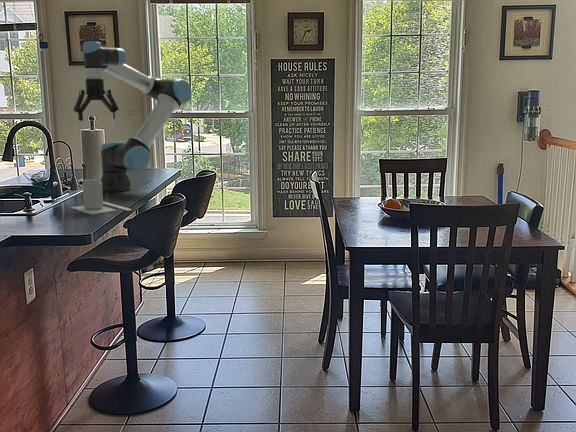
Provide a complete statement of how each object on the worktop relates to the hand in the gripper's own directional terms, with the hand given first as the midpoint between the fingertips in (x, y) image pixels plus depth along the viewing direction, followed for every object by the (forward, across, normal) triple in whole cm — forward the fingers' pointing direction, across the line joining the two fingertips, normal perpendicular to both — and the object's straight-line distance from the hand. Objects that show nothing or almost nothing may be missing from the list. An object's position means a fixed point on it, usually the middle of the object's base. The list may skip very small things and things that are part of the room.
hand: (97, 127), depth 267 cm
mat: (+31, -18, -26) cm, 44 cm away
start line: (+31, -8, -26) cm, 42 cm away
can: (+31, -18, -26) cm, 44 cm away
